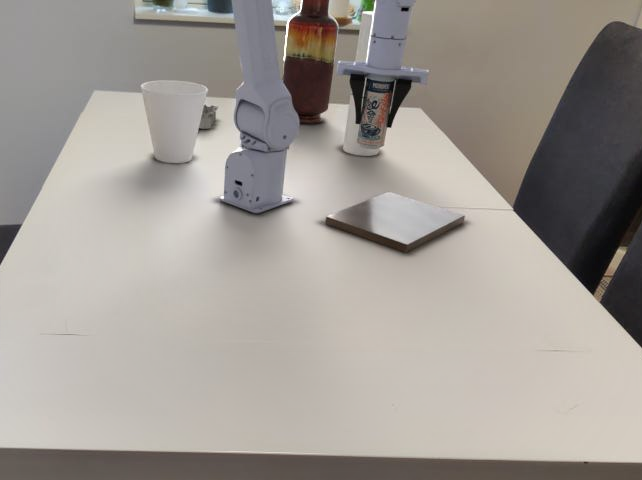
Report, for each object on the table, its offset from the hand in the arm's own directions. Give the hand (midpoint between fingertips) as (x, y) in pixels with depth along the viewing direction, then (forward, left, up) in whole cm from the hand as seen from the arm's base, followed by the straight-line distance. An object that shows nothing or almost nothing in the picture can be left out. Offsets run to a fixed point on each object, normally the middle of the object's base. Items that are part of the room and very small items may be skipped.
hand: (373, 124), depth 119 cm
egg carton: (+6, +46, -11) cm, 48 cm away
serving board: (-12, -14, -10) cm, 21 cm away
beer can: (0, 0, -4) cm, 4 cm away
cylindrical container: (+18, +12, -11) cm, 24 cm away
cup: (-16, +31, -11) cm, 37 cm away
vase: (+29, +35, -11) cm, 47 cm away
